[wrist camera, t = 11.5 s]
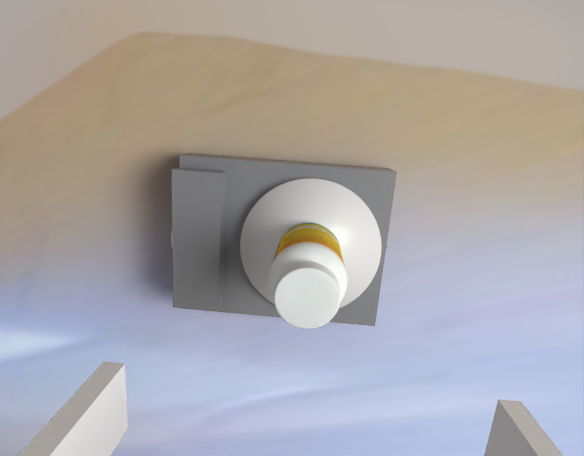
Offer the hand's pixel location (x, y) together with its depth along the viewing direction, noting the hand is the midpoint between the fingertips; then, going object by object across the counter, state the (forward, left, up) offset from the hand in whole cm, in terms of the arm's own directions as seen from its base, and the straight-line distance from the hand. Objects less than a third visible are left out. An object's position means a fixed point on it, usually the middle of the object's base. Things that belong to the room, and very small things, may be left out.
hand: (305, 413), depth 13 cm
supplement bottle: (0, 0, -19) cm, 19 cm away
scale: (-2, 0, -22) cm, 23 cm away
